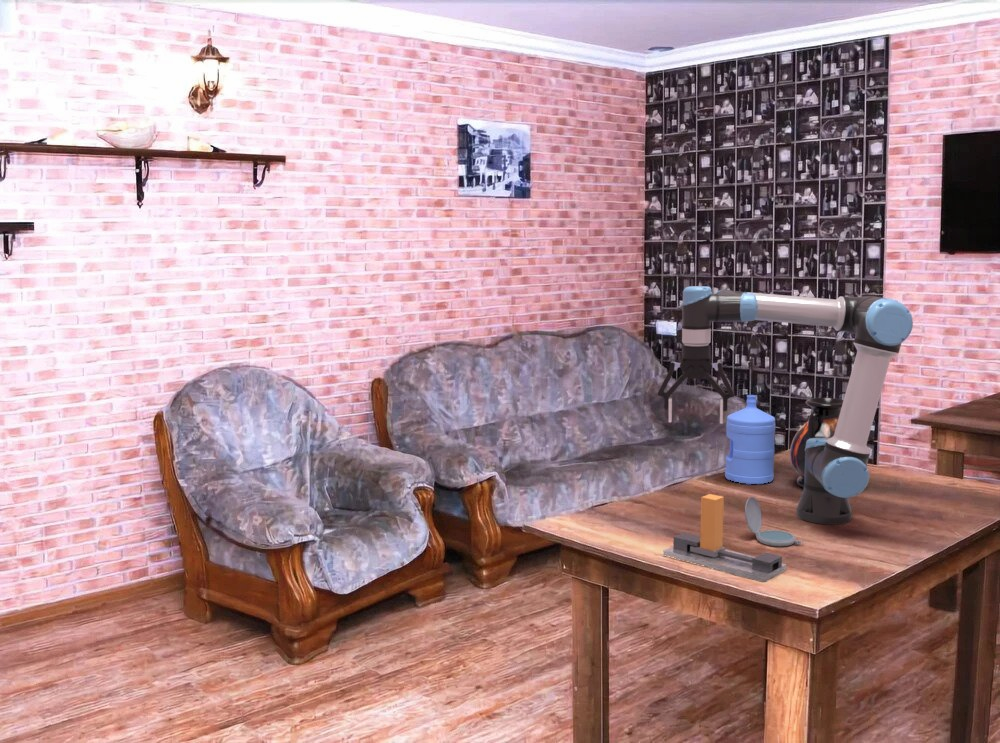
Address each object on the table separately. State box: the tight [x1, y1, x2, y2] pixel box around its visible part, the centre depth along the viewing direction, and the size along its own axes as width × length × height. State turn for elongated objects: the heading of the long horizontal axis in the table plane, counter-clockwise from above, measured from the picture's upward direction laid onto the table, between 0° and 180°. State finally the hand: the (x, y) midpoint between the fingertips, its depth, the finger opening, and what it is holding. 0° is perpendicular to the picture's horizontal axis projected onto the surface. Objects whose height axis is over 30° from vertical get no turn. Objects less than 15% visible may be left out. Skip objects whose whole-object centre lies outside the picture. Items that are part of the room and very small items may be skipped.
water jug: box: [724, 394, 776, 485], centre depth 325 cm, size 16×16×28 cm
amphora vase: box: [789, 397, 844, 489], centre depth 315 cm, size 22×22×28 cm
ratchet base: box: [662, 532, 787, 583], centre depth 245 cm, size 28×11×4 cm, turn 47°
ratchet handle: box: [690, 493, 753, 563], centre depth 243 cm, size 20×5×14 cm, turn 47°
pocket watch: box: [744, 496, 804, 547], centre depth 262 cm, size 10×11×15 cm
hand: (695, 422), depth 268 cm, fingers open, 13 cm apart
